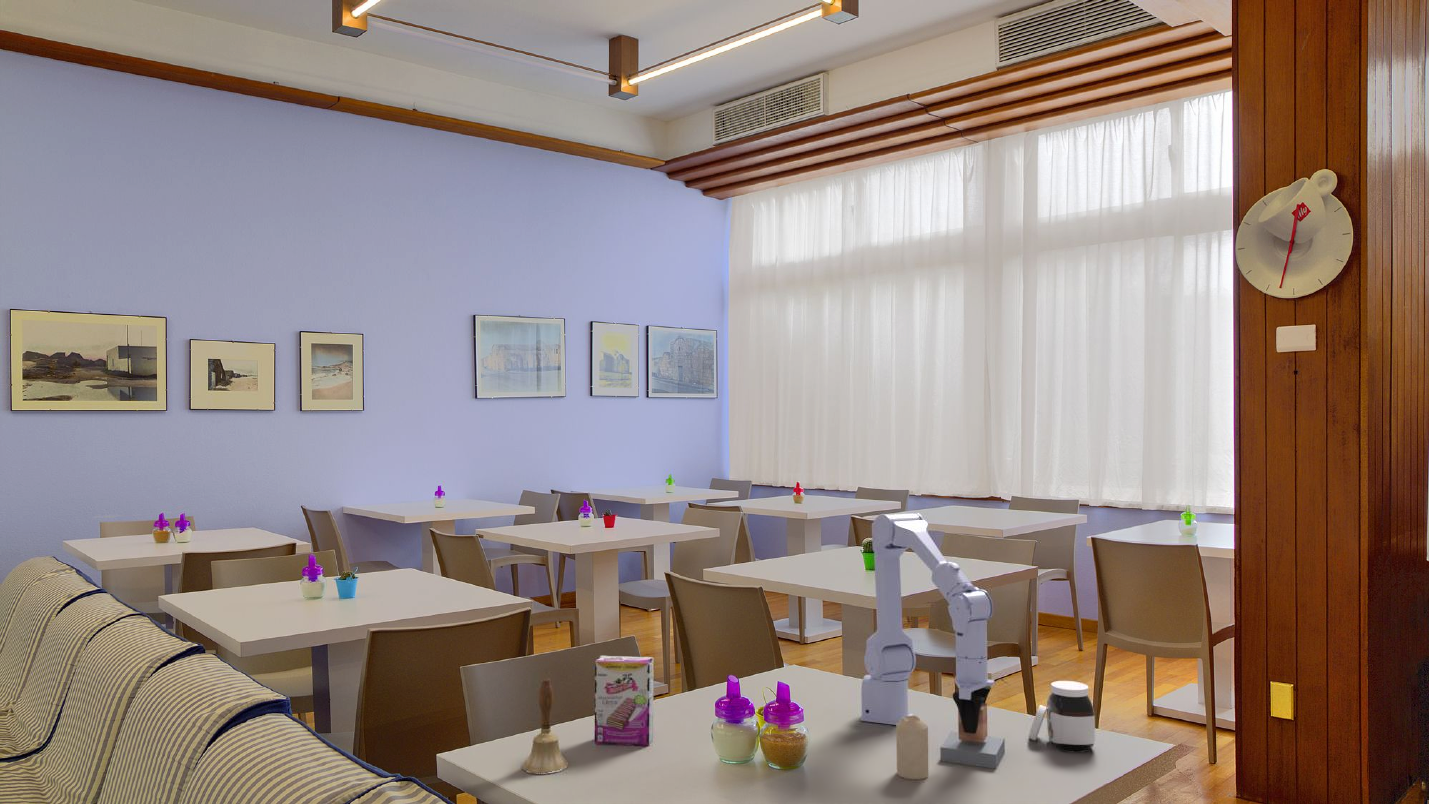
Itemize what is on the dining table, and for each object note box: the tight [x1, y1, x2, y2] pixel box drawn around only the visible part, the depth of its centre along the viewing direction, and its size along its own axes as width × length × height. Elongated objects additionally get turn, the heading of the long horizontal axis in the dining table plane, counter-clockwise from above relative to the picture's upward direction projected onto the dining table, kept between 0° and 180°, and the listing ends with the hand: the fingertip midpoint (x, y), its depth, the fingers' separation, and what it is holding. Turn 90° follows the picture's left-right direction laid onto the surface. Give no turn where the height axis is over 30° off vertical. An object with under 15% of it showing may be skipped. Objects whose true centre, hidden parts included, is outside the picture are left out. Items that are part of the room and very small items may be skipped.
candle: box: [895, 715, 929, 780], centre depth 168 cm, size 6×6×10 cm
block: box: [957, 702, 988, 743], centre depth 177 cm, size 4×4×6 cm
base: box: [939, 731, 1006, 769], centre depth 177 cm, size 10×10×2 cm
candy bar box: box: [594, 655, 655, 747], centre depth 187 cm, size 11×5×16 cm, turn 84°
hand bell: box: [521, 678, 569, 775], centre depth 173 cm, size 8×8×16 cm
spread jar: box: [1028, 680, 1096, 753], centre depth 183 cm, size 12×11×12 cm
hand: (972, 728), depth 177 cm, fingers closed on block, 4 cm apart
